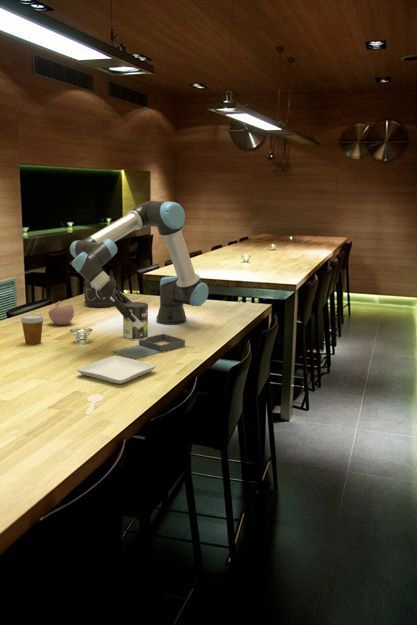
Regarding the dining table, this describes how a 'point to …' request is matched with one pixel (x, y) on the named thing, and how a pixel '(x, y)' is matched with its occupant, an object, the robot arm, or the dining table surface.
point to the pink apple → (61, 314)
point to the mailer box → (151, 346)
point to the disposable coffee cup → (32, 328)
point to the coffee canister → (96, 296)
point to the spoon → (93, 402)
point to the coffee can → (129, 328)
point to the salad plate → (116, 369)
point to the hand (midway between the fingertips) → (142, 323)
